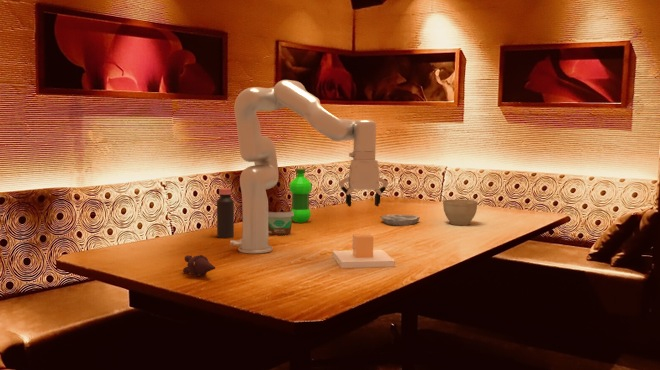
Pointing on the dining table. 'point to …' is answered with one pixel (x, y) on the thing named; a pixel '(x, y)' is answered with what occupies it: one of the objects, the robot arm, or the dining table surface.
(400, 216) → the grey stone plate
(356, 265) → the post board
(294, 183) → the plastic bottle
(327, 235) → the dining table surface
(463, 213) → the planter bowl
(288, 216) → the food container
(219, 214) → the vinegar
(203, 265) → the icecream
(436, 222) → the dining table surface
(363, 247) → the orange block
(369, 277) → the dining table surface
